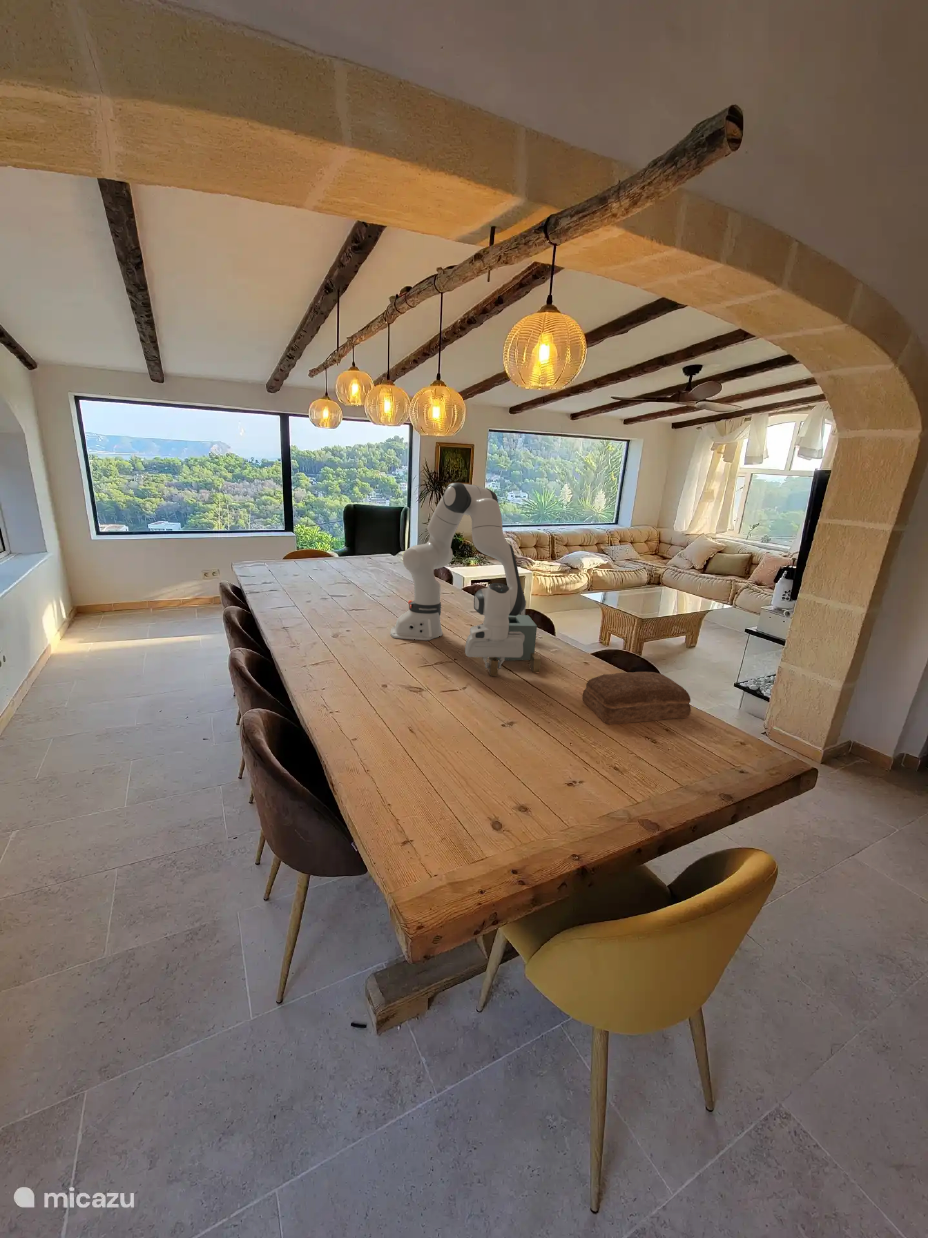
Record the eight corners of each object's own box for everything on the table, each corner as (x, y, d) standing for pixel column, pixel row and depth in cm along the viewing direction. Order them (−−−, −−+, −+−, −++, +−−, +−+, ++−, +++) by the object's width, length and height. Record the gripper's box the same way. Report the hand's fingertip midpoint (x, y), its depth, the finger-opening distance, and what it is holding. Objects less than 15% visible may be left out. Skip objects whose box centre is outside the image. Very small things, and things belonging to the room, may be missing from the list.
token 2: (533, 672, 176) (534, 658, 175) (529, 667, 182) (530, 653, 180) (539, 672, 177) (540, 658, 175) (535, 667, 182) (537, 653, 180)
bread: (692, 720, 148) (699, 685, 145) (604, 727, 141) (609, 690, 138) (658, 695, 164) (664, 663, 161) (578, 700, 157) (582, 667, 154)
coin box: (492, 660, 186) (495, 625, 182) (486, 647, 199) (489, 614, 195) (533, 660, 188) (537, 625, 184) (525, 647, 201) (528, 615, 197)
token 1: (490, 675, 171) (491, 660, 169) (487, 669, 176) (489, 655, 174) (497, 675, 171) (498, 661, 169) (494, 669, 176) (495, 655, 175)
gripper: (523, 628, 173) (519, 664, 177) (465, 627, 171) (463, 664, 175) (527, 634, 167) (523, 671, 171) (467, 633, 165) (465, 671, 169)
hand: (492, 668), depth 173 cm, fingers closed on token 1, 2 cm apart
